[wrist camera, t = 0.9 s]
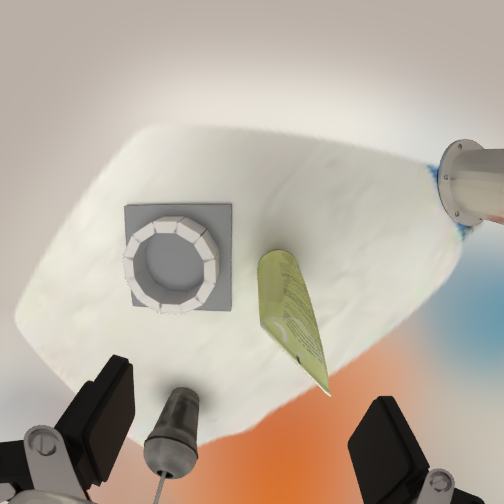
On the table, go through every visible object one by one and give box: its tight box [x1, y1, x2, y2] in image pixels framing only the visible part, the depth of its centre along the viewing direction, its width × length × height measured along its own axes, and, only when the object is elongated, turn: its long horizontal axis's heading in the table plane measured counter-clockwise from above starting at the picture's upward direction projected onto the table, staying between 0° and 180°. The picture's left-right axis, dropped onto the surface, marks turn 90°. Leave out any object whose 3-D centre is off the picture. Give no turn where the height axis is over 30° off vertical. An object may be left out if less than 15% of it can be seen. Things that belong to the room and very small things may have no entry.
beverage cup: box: [144, 388, 199, 504], centre depth 31 cm, size 7×7×20 cm
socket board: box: [123, 204, 231, 315], centre depth 32 cm, size 13×13×5 cm
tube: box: [257, 250, 331, 397], centre depth 26 cm, size 6×5×20 cm
